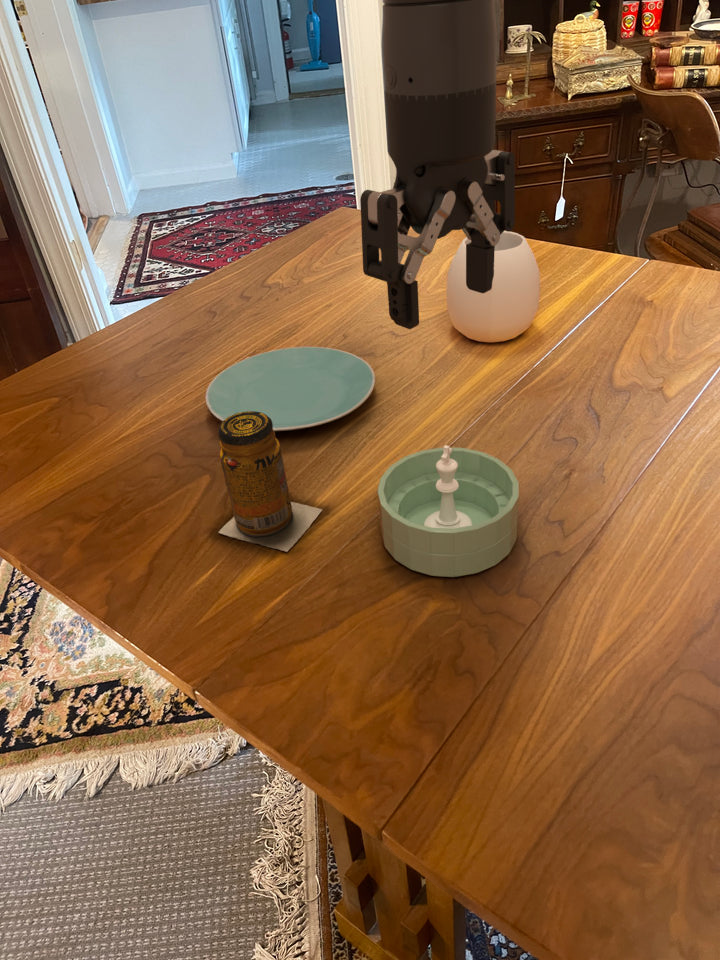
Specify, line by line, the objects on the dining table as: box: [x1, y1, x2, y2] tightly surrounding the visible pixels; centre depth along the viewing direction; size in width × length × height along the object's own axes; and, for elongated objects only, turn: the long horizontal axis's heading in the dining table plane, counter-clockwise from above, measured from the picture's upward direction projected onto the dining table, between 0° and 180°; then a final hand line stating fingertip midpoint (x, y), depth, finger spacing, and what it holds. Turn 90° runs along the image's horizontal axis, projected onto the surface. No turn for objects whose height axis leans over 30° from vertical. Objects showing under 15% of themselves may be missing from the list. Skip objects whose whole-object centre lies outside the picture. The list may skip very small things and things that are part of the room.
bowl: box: [376, 446, 520, 578], centre depth 71 cm, size 13×13×6 cm
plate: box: [204, 346, 376, 432], centre depth 96 cm, size 22×22×3 cm
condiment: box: [217, 411, 323, 553], centre depth 73 cm, size 7×8×12 cm
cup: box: [445, 231, 541, 343], centre depth 104 cm, size 13×13×14 cm
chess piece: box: [424, 444, 473, 529], centre depth 70 cm, size 5×5×10 cm
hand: (444, 307), depth 59 cm, fingers open, 8 cm apart
